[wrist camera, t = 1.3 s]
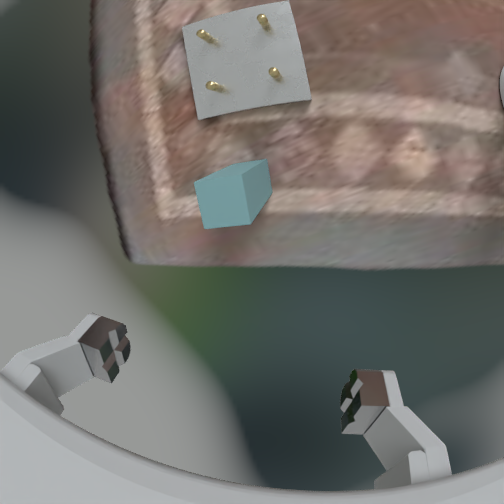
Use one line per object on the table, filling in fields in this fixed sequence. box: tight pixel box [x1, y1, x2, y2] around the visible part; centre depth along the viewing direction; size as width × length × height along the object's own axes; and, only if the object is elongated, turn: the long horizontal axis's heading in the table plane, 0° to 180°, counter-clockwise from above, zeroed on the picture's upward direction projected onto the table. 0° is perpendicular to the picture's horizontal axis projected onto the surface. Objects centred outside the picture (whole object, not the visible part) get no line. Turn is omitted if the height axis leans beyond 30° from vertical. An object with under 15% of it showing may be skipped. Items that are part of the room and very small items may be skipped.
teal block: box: [194, 159, 272, 229], centre depth 34 cm, size 5×5×14 cm
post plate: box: [182, 1, 312, 120], centre depth 30 cm, size 16×16×5 cm
